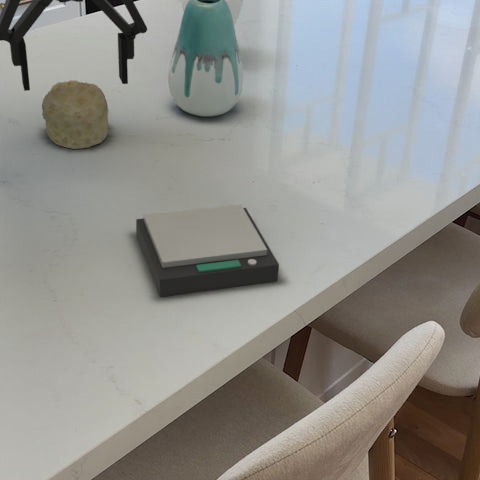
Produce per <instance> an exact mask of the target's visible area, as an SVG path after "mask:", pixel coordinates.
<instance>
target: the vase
mask: <svg viewBox="0 0 480 480" xmlns="http://www.w3.org/2000/svg"><path fill="white" fill-rule="evenodd" d="M242 63H243V62H242V55H241V51H240V46H239V42H238V38H237V34H236V29H235V25H234V22H233V18H232V14H231V11H230V8H229V6H228V4H227V2H226V1H225V0H189V1H188V3H187V5H186V7H185V10H184V11H183V14H182V17H181V22H180V26H179V30H178V34H177V38H176V40H175V44H174V47H173V50H172V54H171V58H170V63H169V68H168V76H167V77H168V78H167V79H168V89H169V93H170V96H171V97H172V100H173V101H174V102H175V104H176V105H177V106H178V107H179V108H180V109H181V110H182V111H184V112H186V113H187V114H190V115H193V116H197V117H217V116H220V115H224V114H226V113H228V112H230V110H231V109H233V108H234V107H235V106H236V104H237V103H238V101H239V100H240V97H241V95H242V92H243V88H244V87H243V85H244V71H243V64H242Z"/></svg>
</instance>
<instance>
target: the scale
mask: <svg viewBox="0 0 480 480" xmlns="http://www.w3.org/2000/svg"><path fill="white" fill-rule="evenodd" d="M142 216H143V218H136V220H135V229H136V230H135V235H136V238H137V241H138V244H139V246H140V249H141V251H142V254H143V256H144V259H145V261H146V265H147V267H148V270H149V272H150V276H151V277H152V279H153V283H154V285H155V286H154V287H155V288H156V290H157V293H158V296H159V298H161V297H168V296H169V297H170V296H177V295H183V294H190V293H191V294H192V293H198V292H206V291H212V290H214V291H215V290H221V289H227V288H228V289H229V288H237V287H244V286H252V285H258V284H265V283H274V282H278V278H279V268H280V264H279V262H278V260H277V259H276V256H274V255H275V254H273V251H272V250H271V248H270V247H269V245H268V243H267V242H266V239H265V238H264V236H263V234H262V233H261V231H260V229H259V227H258V226H257V224H256V222H255V220H254V219H253V217H252V215H251V214H250V212H249V211H248V209H247V207H243V205H242V204H235V205H225V206H216V207H207V208H206V207H205V208H196V209H187V210H178V211H168V212H158V213H148V214H143V215H142Z"/></svg>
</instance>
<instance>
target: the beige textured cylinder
mask: <svg viewBox="0 0 480 480" xmlns="http://www.w3.org/2000/svg"><path fill="white" fill-rule="evenodd" d="M107 101H108V100H107V99H106V95H105V93H104V91H103V90H102V89H101V88H100V87H99V86H98V85H97V84H94V83H89V82H83V81H82V82H81V81H78V80H74V79H73V80H69V81H62V82H57V83H55V84H53V85H52V86H51V89H50V90H49V91H47V93H46V94H45V96H44V97H43V99H42V103H41V110H42V113H41V114H42V118H43V119H44V121H45V127H46V128H45V129H46V133H47V136H48V137H49V139H50V141H51V142H53V144H56V145H57V146H60V147H64V148H66V149H67V148H68V149H72V150H77V149H85V148H90V147H92V146H97V145H98V144H101V143H102V142H103V141H105V140H106V139H107V136H108V134H109V127H110V125H109V117H108V116H109V108H108V107H109V106H108V102H107Z"/></svg>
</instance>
